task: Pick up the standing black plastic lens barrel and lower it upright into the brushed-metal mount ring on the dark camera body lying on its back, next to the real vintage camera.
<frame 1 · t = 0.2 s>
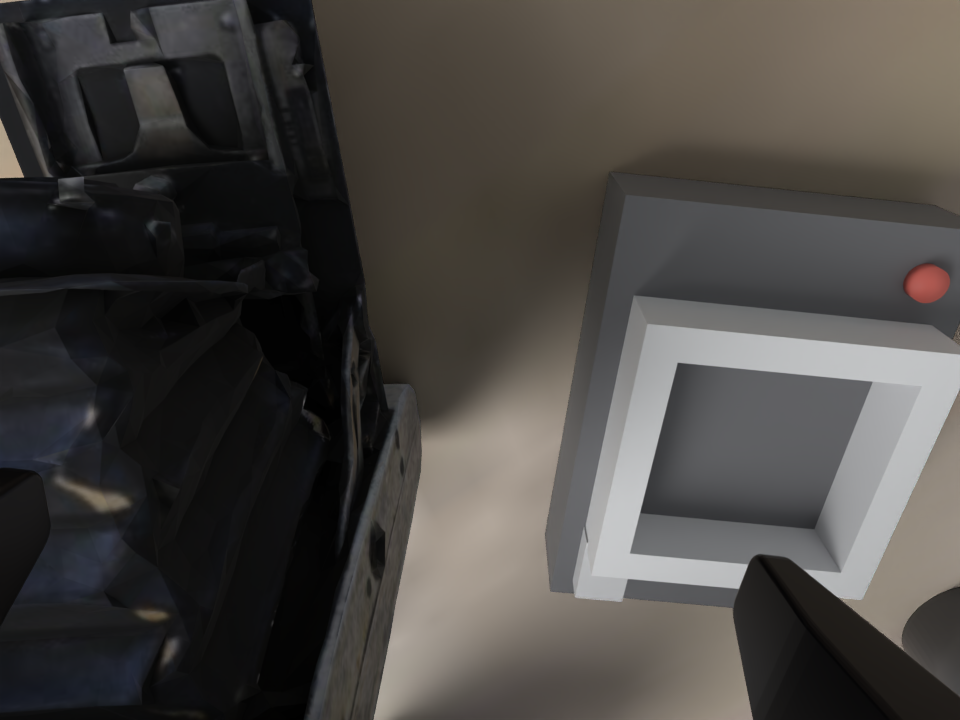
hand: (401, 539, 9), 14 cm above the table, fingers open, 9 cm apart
camera body: (715, 390, 24), on the table
vintage camera: (251, 259, 23), on the table
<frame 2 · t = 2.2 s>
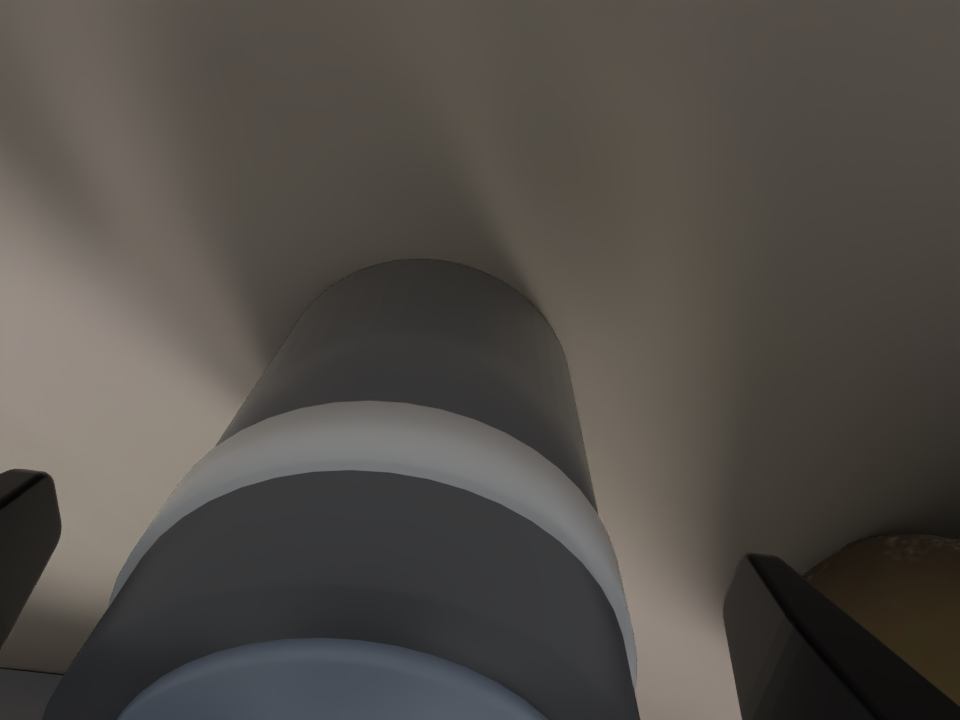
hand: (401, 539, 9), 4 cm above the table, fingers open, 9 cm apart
lens: (425, 398, 12), on the table
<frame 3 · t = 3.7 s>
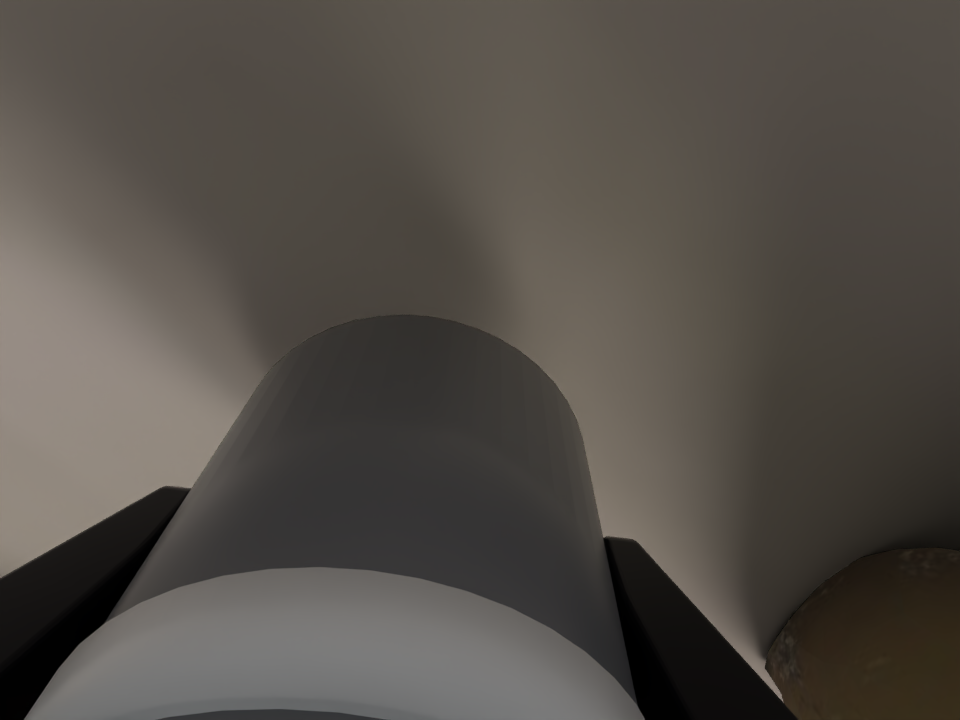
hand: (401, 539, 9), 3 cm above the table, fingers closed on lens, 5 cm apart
lens: (412, 474, 10), point 2 cm above the table, touching gripper
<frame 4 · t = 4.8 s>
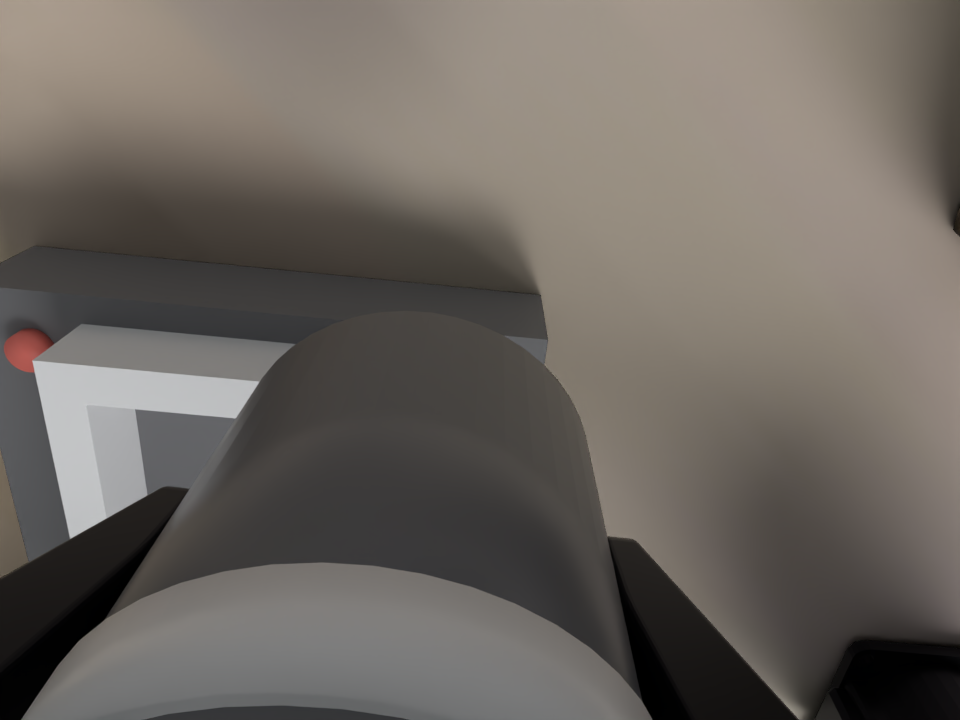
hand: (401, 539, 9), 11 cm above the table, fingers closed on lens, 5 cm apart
camera body: (293, 424, 21), on the table
lens: (414, 472, 10), point 10 cm above the table, touching gripper
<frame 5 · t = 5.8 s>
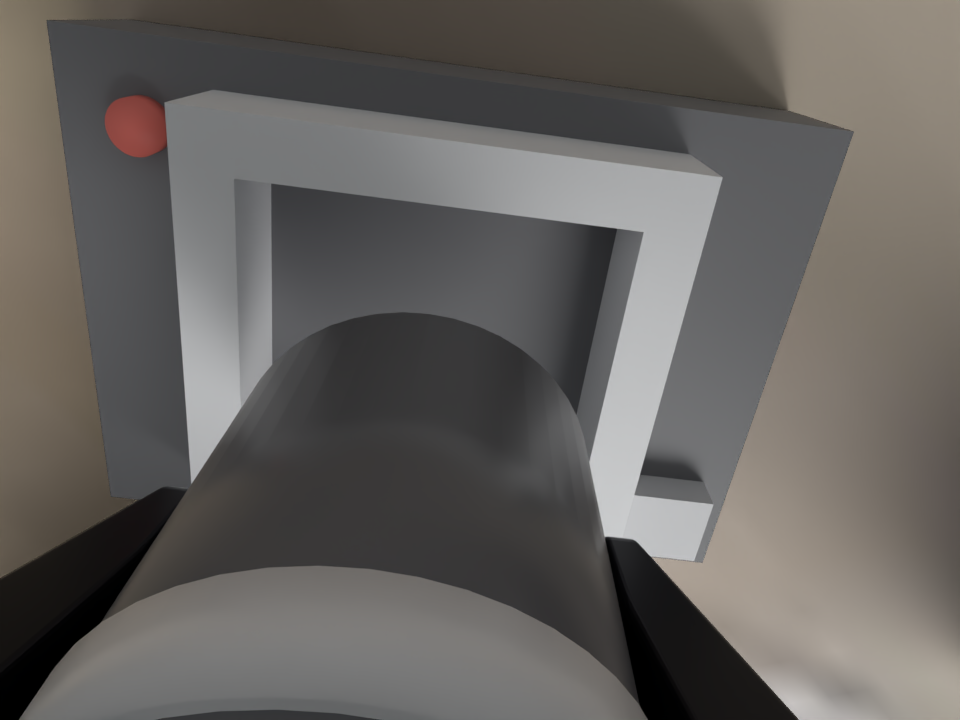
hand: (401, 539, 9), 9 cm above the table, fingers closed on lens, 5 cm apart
camera body: (441, 287, 17), on the table
lens: (412, 473, 10), point 8 cm above the table, touching gripper
when the fingers open (6 cm above the table, at t = 6.7 s): lens drops 1 cm, resting on camera body.
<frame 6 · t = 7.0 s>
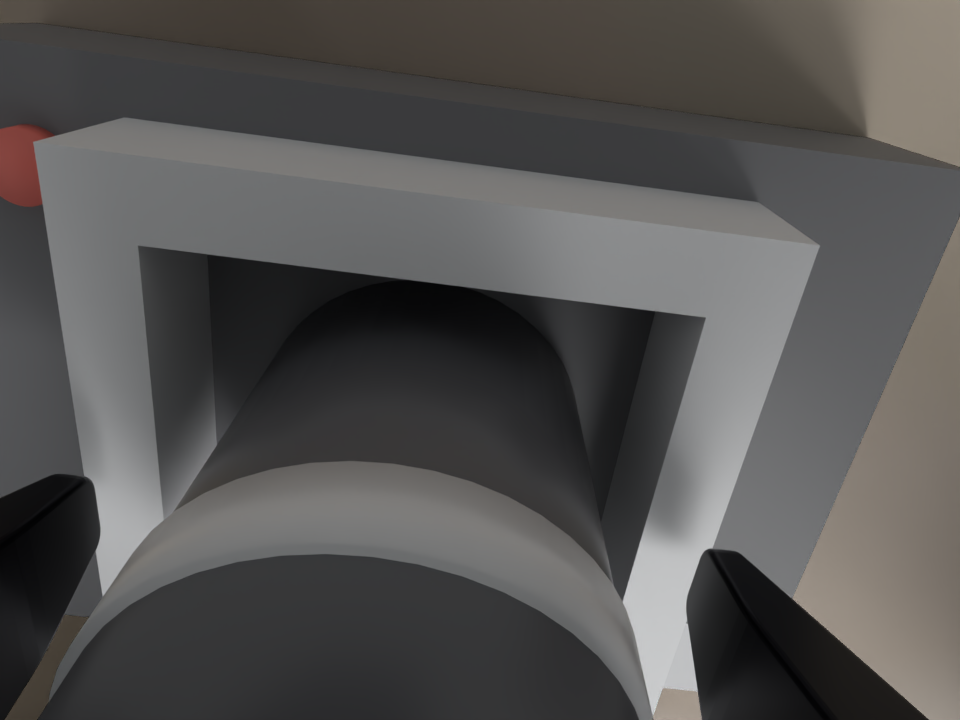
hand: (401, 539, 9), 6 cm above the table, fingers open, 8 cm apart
camera body: (433, 349, 14), on the table
lens: (420, 427, 11), point 3 cm above the table, touching camera body
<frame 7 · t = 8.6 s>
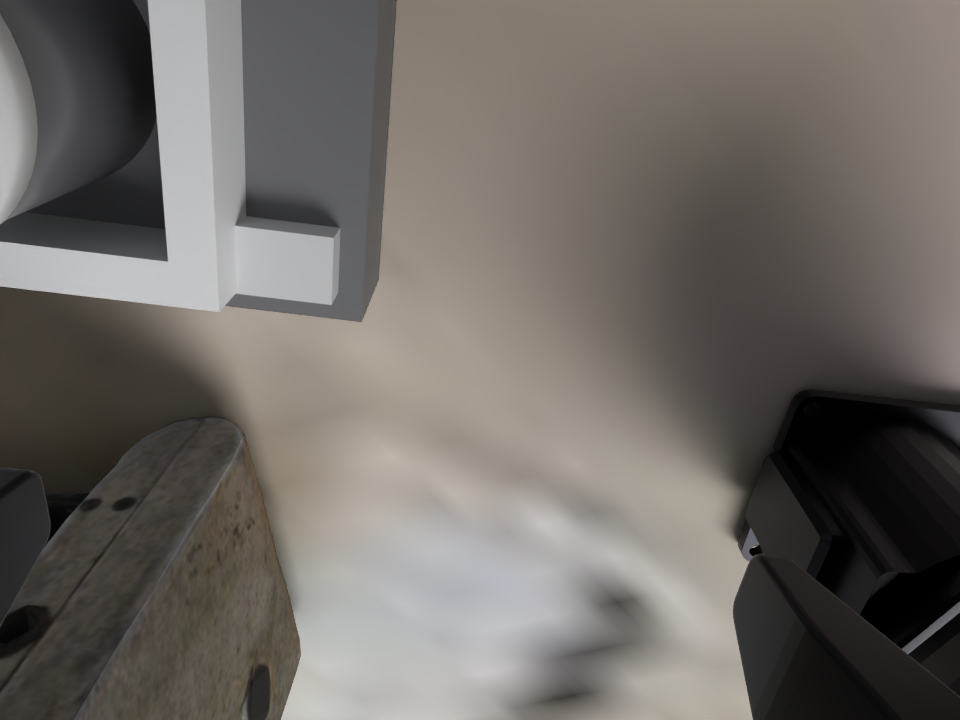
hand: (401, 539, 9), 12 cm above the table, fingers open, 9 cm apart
camera body: (107, 55, 17), on the table
lens: (38, 61, 14), point 3 cm above the table, touching camera body
vintage camera: (75, 536, 24), on the table
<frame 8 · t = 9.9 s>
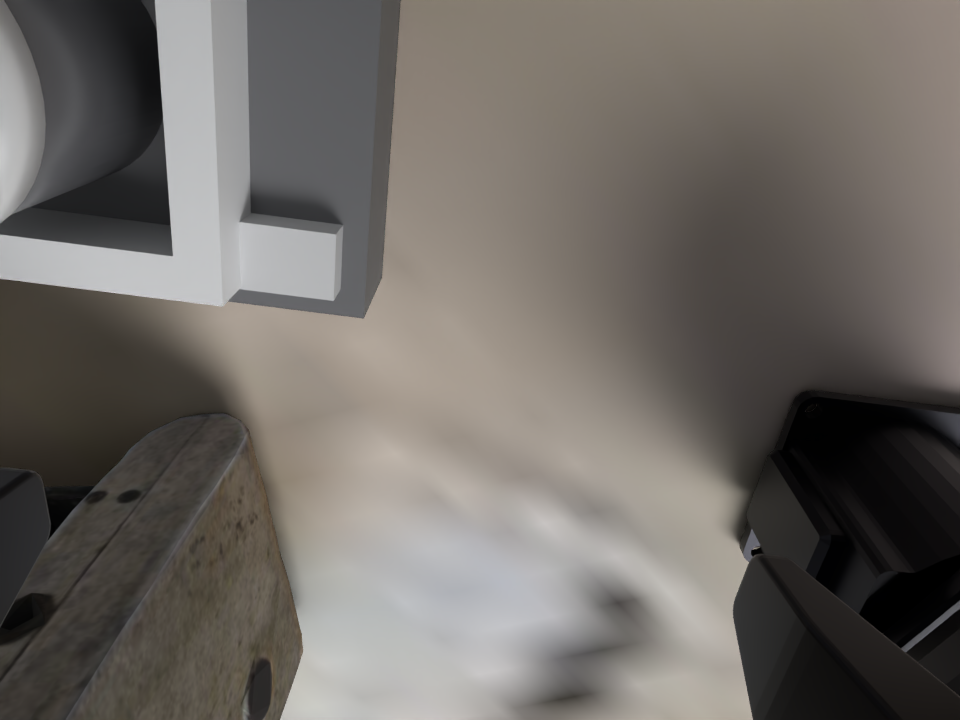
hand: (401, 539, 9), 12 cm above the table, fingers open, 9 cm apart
camera body: (117, 55, 18), on the table
lens: (49, 60, 15), point 3 cm above the table, touching camera body
vintage camera: (81, 531, 25), on the table
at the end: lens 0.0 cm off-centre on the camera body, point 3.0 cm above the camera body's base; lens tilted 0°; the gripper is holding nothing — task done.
